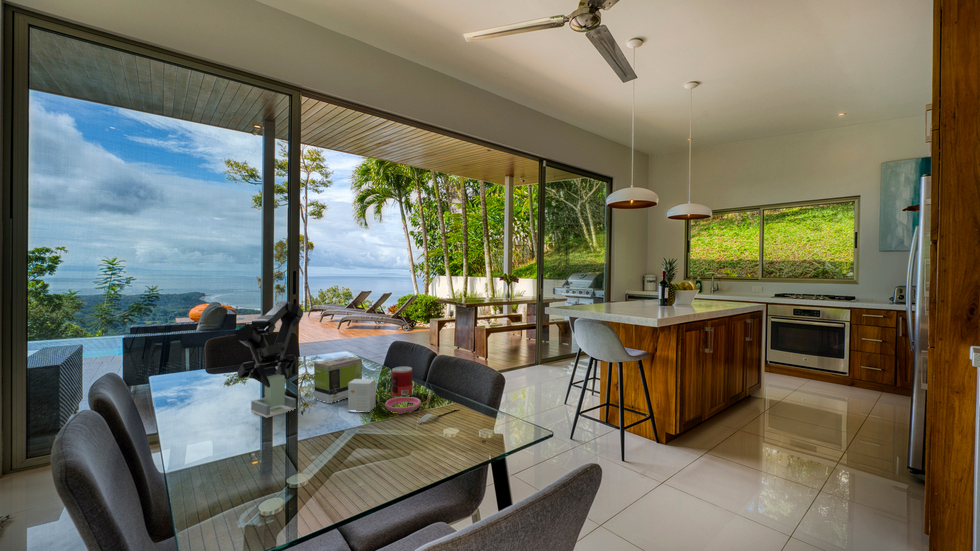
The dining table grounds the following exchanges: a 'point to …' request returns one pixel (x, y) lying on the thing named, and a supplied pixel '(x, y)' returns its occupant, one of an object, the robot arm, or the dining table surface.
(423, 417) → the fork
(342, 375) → the tea box
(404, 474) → the dining table surface
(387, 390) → the dining table surface
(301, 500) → the dining table surface
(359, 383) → the small box
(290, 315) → the robot arm
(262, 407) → the keeper bay
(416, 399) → the pink shallow round dish
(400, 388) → the canned food
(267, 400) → the green block
